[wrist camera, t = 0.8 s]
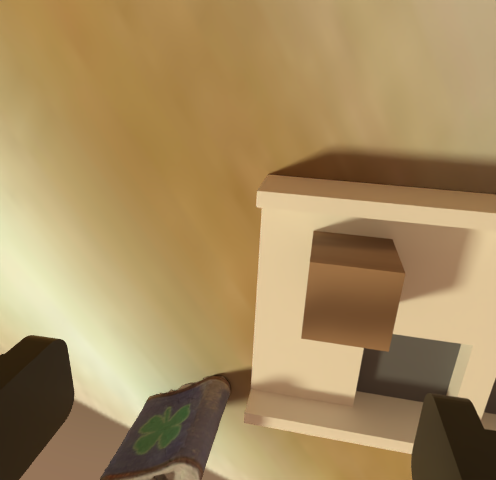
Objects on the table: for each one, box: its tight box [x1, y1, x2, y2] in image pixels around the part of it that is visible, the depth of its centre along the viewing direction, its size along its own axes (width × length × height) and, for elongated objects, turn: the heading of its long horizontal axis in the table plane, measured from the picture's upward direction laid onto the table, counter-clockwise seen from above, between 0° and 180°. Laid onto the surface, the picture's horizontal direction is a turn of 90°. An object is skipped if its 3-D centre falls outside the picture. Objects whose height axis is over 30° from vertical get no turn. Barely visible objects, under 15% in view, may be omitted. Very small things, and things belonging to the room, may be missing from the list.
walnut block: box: [301, 231, 406, 352], centre depth 25 cm, size 5×5×5 cm
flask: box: [100, 376, 230, 480], centre depth 32 cm, size 9×3×11 cm, turn 119°
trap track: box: [244, 174, 496, 454], centre depth 27 cm, size 18×32×4 cm, turn 87°
